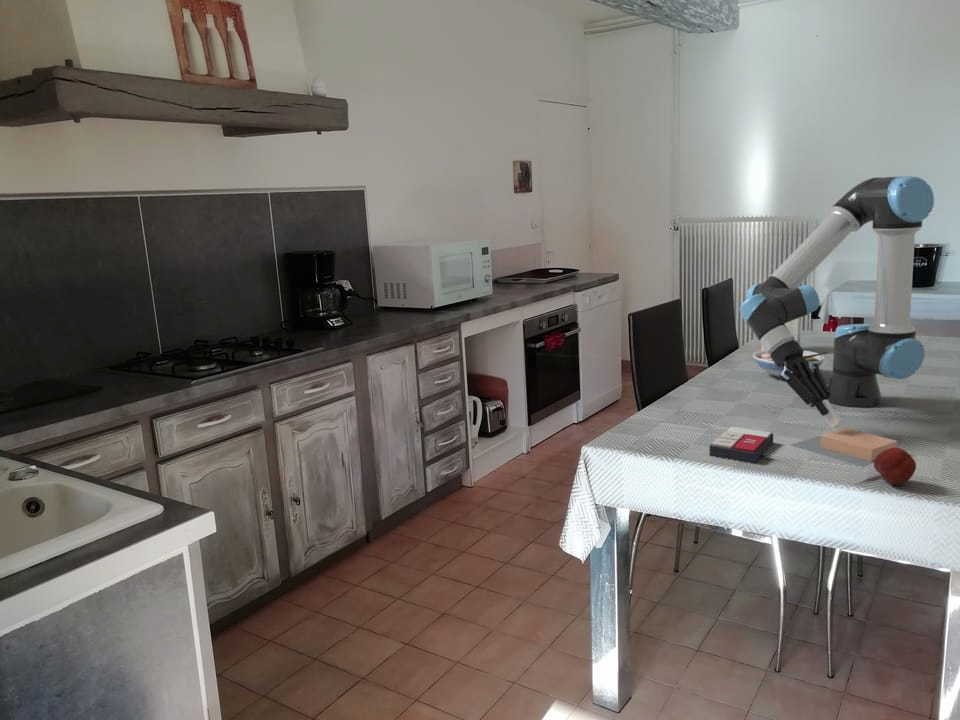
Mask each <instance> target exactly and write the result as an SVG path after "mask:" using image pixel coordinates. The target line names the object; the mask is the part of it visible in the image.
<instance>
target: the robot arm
mask: <svg viewBox="0 0 960 720" xmlns="http://www.w3.org/2000/svg"><path fill="white" fill-rule="evenodd" d="M934 195H935V194H934V191H933V189H932V187H931V186H930V184H929V183H927V181H926V180H924V179H923V178H921V177H918V176H911V175H910V176H909V175H902V176H889V177H888V176H887V177H886V176H885V177H884V176H883V177H880V176H879V177H871V178H869V179H866V180H863V181H862V182H860V183H858V184H856V185H855V186H853V188H851V189H850V190H848V191H847V192H846V193H845V194H844V195H842V197H841V198H839V200H837V201H836V202H835V204H833V205H832V207H830V209H829V215H828V216H827V217H826V218H825V219H824V220H822V222H821V223H820V224H819V225H818V227H816V228H815V229H814V230H813V231H812V232H811V233H810V234H809V236H807V238H805V240H803V242H802V243H800V245H798V247H797V248H796V249H795V250H794V251H793V252H792V253H791V254H790V255H789V256H788V257H787V258H786V259H785V260H784V261H783V262H782V263H781V264H780V266H778V268H777V269H775V271H773V272H772V274H770V276H769V277H768V278H767V279H765V280H764V282H763V283H756V284H753V285H752V286H750V287H749V288H748V290H747V292H746V295H745V300H744V301H742V303H741V305H740V306H739V312H740V314H741V317H742V318H743V320H744V322H745V323H746V325H748V326H749V328H750V329H751V331H752V332H753V334H754V335H755V337H756V338H757V339H758V340H759V343H760V342H761V343H762V345H763V346H764V348H765V349H766V351H767V352H768V354H771V356H770V357H771V358H772V360H773V361H774V363H775V364H776V366H777V367H782V370H783V373H782V374H781V375H780V376H779V377H780V378H779V379H781V380H782V381H784V382H785V383H786V384H787V385H789V387H790V388H791V389H792V391H794V392H795V393H796V395H798V396H799V398H800V399H801V400H802V401H803V402H804V403H805V404H806V405H808V406H809V407H810V408H814V407H816V409H817V411H818V412H819V414H820V415H821V416H823V418H824V420H825V421H826V422H827V424H828V425H829V427H830V428H831V429H833V428H836V427H838V426H839V425H840V424H841V423H843V422H844V421H843V420H842V417H841V416H840V415H839V414H838V412H837V411H836V409H835V408H834V406H833V405H832V404H835V405H838V406H845V407H855V408H858V407H859V408H864V407H865V408H868V407H874V406H875V407H876V406H878V405H881V403H882V394H881V389H880V386H879V382H878V379H877V378H878V377H877V375H879V376H883V377H885V378H888V379H896V380H901V379H902V380H903V379H907V378H909V377H911V376H913V375H914V374H915V373H916V371H918V370H919V369H920V368H921V366H922V364H923V362H924V360H925V355H926V354H925V353H926V351H925V347H924V345H923V344H922V342H920V341H919V340H918V339H917V338H916V335H917V334H916V331H917V328H916V327H915V326H914V325H913V324H912V323H911V311H912V310H911V308H912V291H913V275H914V274H913V273H914V257H915V240H916V239H915V238H916V234H917V232H919V231H920V230H922V228H923V221H924V220H925V219H926V218H927V217H929V215H930V213H932V211H933V208H934V205H935V204H934V203H935V196H934ZM870 222H872V230H873V232H875V234H877V236H878V238H877V239H878V240H877V242H878V243H877V258H876V259H877V263H876V280H875V281H876V285H875V300H874V301H875V302H874V303H875V305H874V322H873V323H853V324H843V325H838V326H837V327H836V329H835V332H834V333H835V334H834V337H833V340H834V341H833V360H832V361H833V362H832V363H833V364H832V374H831V376H830V379H829V381H828V384H827V382H826V381H825V378H824V377H823V374H822V373H821V371H820V366H818V364H816V363H815V364H814V365H811V364H809V362H808V361H807V360H806V359H805V358H804V357H803V352H804V351H805V350H804V349H803V348H802V346H801V345H799V343H798V342H797V341H796V340H794V336H793V335H792V333H791V332H790V331H789V329H788V328H787V327H786V325H785V323H787V322H790V321H792V320H795V319H797V318H800V317H801V318H802V317H804V316H808V315H809V314H811V313H813V312H815V311H817V310H818V308H819V306H820V298H819V294H818V292H817V291H816V289H815V288H814V287H813V286H811V285H808V284H804V285H801V284H802V283H803V282H804V281H805V280H806V279H807V278H808V276H810V275H811V273H813V272H814V271H815V270H816V269H817V267H818V266H819V265H820V264H822V262H823V261H824V260H826V259H827V257H828V256H829V255H830V254H831V253H832V252H833V251H834V250H835V249H836V248H837V247H838V246H839V245H841V243H842V242H843V241H844V240H845V239H846V238H847V237H848V236H849V235H850V234H851V233H855V232H858V231H859V230H860V229H861V228H862V227H863V226H864V225H866V224H867V223H870ZM800 285H801V286H800Z"/></svg>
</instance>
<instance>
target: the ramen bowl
mask: <svg viewBox="0 0 960 720" xmlns="http://www.w3.org/2000/svg"><path fill="white" fill-rule="evenodd" d="M803 351H804V352H803V357H804V358H805V359H806V360H807V361H808V362H809V364H811V365H814V364H815V363H816V364H818V366H819V367H820V366H821V365H822V363H823V362H824V360H825V355H826V354H828V352H826V351H825V352H821V353H818V352H814V351H809V350H803ZM770 356H771V354H768V352H767V351H766V350H762V351H759V350H758V351H756V352H753V354H752V357H753V359H754V361H755V363H756V364H757V366H758V367H759V368H760V369H762V370H763V371H764V372H766V373H768V374H770V375H772V376H775V377H776V378H778V377H779V376H780V375H781V374H782V373H783V370H782V367H777V366H776V364H775V363H774V361H773V360H772V358H771V357H770ZM779 379H781V378H780V377H779Z"/></svg>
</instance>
